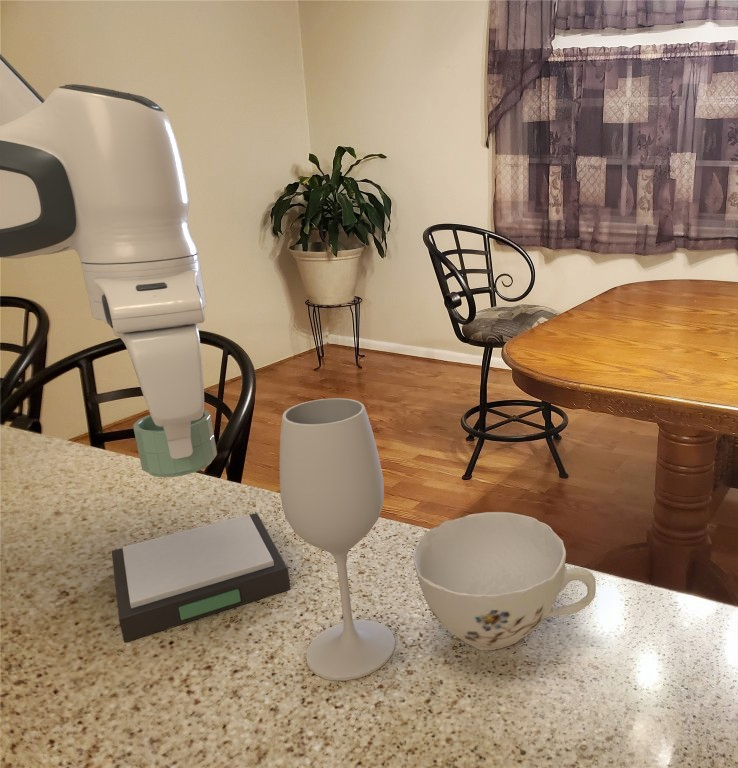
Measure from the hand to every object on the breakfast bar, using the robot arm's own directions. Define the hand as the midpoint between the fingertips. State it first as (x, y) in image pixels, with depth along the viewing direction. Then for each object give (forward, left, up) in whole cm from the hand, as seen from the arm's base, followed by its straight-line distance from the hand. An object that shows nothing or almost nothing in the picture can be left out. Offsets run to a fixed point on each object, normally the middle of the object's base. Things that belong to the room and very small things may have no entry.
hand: (176, 441), depth 63 cm
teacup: (+21, -23, -15) cm, 35 cm away
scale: (0, 0, -15) cm, 15 cm away
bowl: (0, 0, -2) cm, 2 cm away
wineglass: (+9, -18, -15) cm, 25 cm away
